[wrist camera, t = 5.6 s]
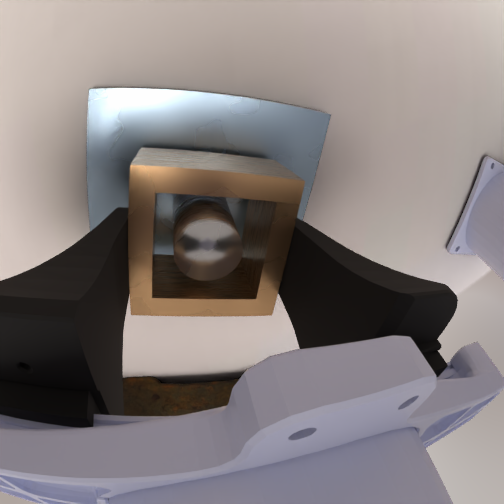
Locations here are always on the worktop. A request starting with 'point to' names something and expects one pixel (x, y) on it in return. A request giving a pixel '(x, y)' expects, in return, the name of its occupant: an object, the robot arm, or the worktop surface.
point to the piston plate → (194, 139)
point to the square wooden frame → (253, 239)
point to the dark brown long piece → (173, 396)
